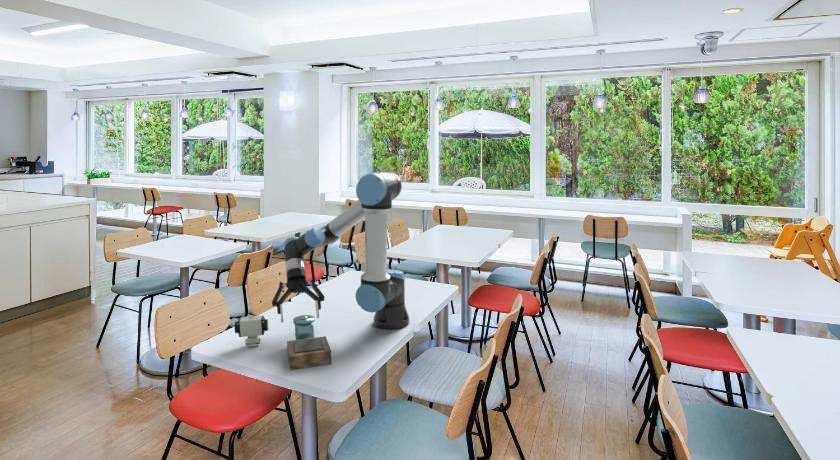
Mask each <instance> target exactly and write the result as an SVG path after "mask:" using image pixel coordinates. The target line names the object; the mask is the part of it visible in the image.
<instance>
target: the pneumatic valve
mask: <svg viewBox="0 0 840 460" xmlns="http://www.w3.org/2000/svg"><path fill="white" fill-rule="evenodd" d="M233 328H234V333H235V334H237V335H238V337H239V338H244V337H245V340H244V343H245V346H246V347H247V348H257V347H258V346H259V345H260V344H261V337H260V336H264V335H265V332H267V331H269V319H266V318H265V315H252V314H251V315H250V314H249V316H240V317H239V319H238V321H235V322H234V326H233Z"/></svg>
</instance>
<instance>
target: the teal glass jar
mask: <svg viewBox="0 0 840 460" xmlns="http://www.w3.org/2000/svg"><path fill="white" fill-rule="evenodd" d="M315 320H316V317H315V316H314V315H311V314H303V315H302V314H301V315H299V316H295V317H294V318H293V319H292V322H293V324H294V335H295V338H294V339H295V340H300V339H308V338H315V328H314V326H315V325H314V322H315Z"/></svg>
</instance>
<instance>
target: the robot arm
mask: <svg viewBox="0 0 840 460" xmlns="http://www.w3.org/2000/svg"><path fill="white" fill-rule="evenodd" d="M402 186H403V185H402V180H401V178H400V177H399V176H398V175H397V173H394V171H388V170H385V171H376V172H369V173H367V174H366V173H365V174H364V175H363V176H362V177H360V178H359V180H358V182H357V183H356V187H355V193H356V197H357V200H356V201H355V202H353V203H352V204H351V205H349V206H348V207H347V208H345V210H344V211H342V212H341V213H340V214H338V215H337V216H335V218H333V219H332V220H331V221H330V222H328V223H327V224H326V225H325V226H323V227H321V228H320V227H319V228H318V227H316V226H315V227H312V228H311V229H308V230H306V232H305V233H303V234H302V235H300V236H299V237H298V236H291V237H288V238H286V239H285V240H284V242H283V245H284V246H283V251H284V260H285V271H286V282H285V283H284V282H282V281H280V282H279V285H278V289H277V291H276V293H275V294H274V296H273V299H272V301H271V305H272V307H276V308H277V309H276V313H277V315H280V322H281V323H284V313H283V312H284V311H283V303H284V302H285V301H286V300H287V298H288V297H289V296H290V295H291V294H292V293H293V294H301V293H304V294H306V295H308V297H310V298H311V299H312V300H313V301H315V313H316V314H315V315H316V319H317V320H318V319H320V310H321V309H322V305H321V304H322V303H321V302H325V295H324V293H323V292H322V291H321V290H320V288H319V287H318V286H317V284H316V283H315V280H314V279H311V280H307V276H306V267H305V266H306V265H305V257H304V256H306V255H307V254H309V253H311V252H312V251H314V250H316V249H318V248H321V247H325V246H328V245H330V244H334V243H336V242H338V241H339V240H340V237H341V236H343V235H344V234H345V233H346V232H347V231H349V230H350V229H352V228H353V227H354V226H356V225H357V224H358V223H359V222H361V221H362V220H364V272H363V273H362V274H361V275H360V285H359V287H357V289H356V291H355V301H356V302H357V305H358V306H359V307H360V308H361V309H362V310H363V311H365V312H368V313H374V315H373V325H374V326H375V327H377V328H379V329H384V330H385V329H386V330H396V329H402V328H405V327H406V326H408V325H409V324H410V315H409V313H408V310H407V306H406V304H405V301H406V300H405V299H406V298H405V297H406V296H405V294H406V293H405V292H406V291H405V290H406V288H405V282H406V278H405V274H404V271H402V270H400V269H399V270H398V269H387V266H388V262H387V261H388V218H389V217H388V212H390V211H391V209H392V208H393V207H392V205H393V201H394V200H395V199H396V198H397V197H399V195H400V194H401V192H402ZM308 285H309V286H310V287H311V288H312V290H313V291H314V292H313V291H312V290H311V289H310V288H309V287H308ZM285 288H287V290H286V291H285V292H284V293H283V294H282V292H283V290H284V289H285ZM281 294H282V296H281Z"/></svg>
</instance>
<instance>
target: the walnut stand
mask: <svg viewBox="0 0 840 460" xmlns="http://www.w3.org/2000/svg"><path fill="white" fill-rule="evenodd" d="M286 347H287V349H286V351H287V357H288V364H289V370H290V371H297V370H302V369H303V370H304V369H311V368H316V367H323V366H330V365H332V364H333V363H332V362H333V360H332V349H331V346H330V343H329V341H328V339H327V336H326V335H324V336H317V337H316V336H315V337H314V338H308V339H300V340H296V339H294V340H287V341H286Z"/></svg>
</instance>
